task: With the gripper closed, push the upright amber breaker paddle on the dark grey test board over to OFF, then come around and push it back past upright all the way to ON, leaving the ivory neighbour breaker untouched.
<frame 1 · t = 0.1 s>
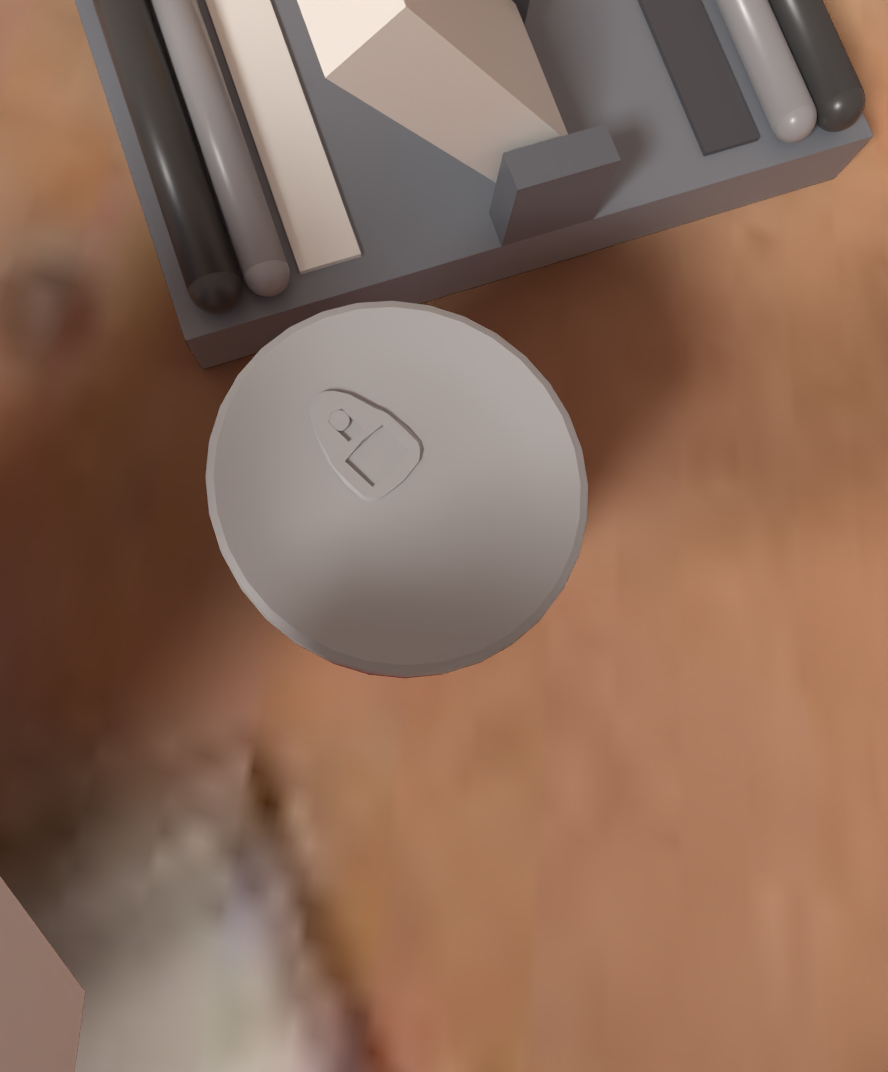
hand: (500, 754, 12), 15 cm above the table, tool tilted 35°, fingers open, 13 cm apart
canned food: (392, 555, 28), on the table
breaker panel: (448, 49, 31), on the table
neighbour breaker: (443, 41, 23), point 7 cm above the table, hinge at -38.0°
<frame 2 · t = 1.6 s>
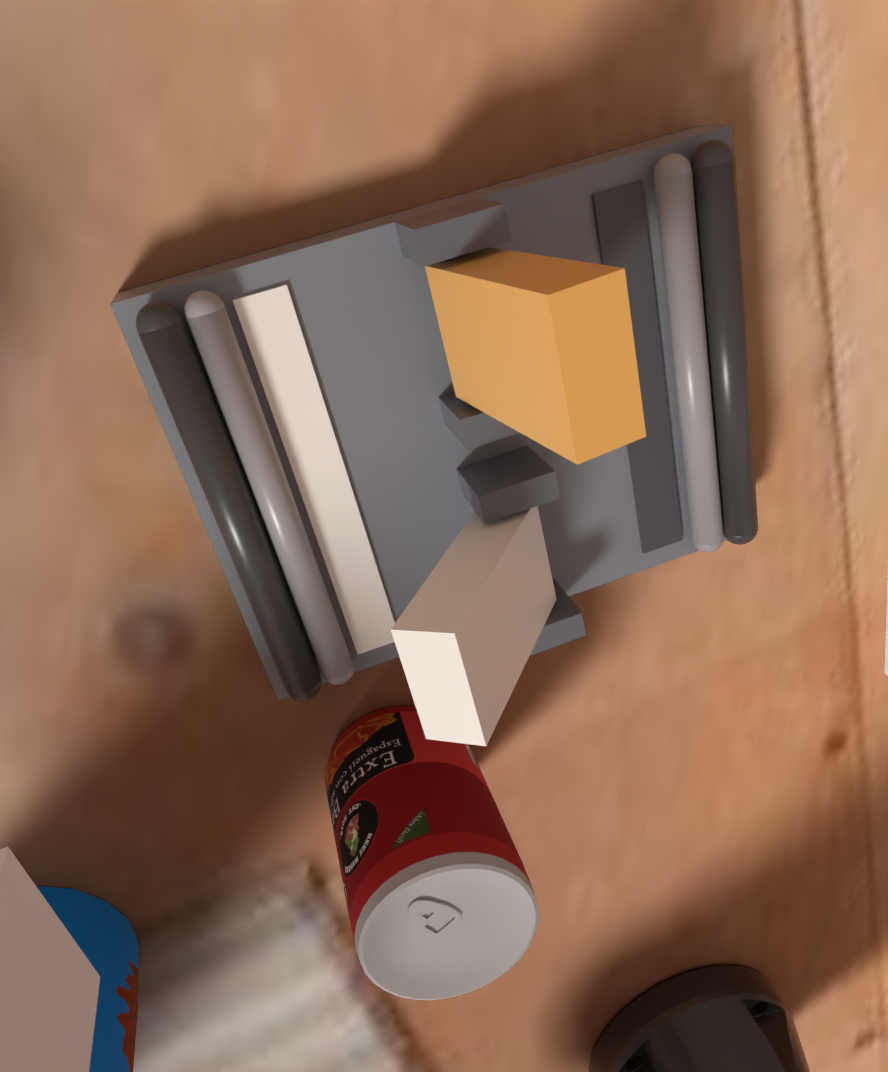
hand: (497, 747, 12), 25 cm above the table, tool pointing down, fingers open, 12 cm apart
thermos: (32, 958, 43), on the table
canned food: (396, 759, 44), on the table
tripped breaker: (520, 341, 28), point 8 cm above the table, hinge at 8.0°
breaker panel: (470, 417, 37), on the table
neighbour breaker: (487, 606, 33), point 7 cm above the table, hinge at -38.0°
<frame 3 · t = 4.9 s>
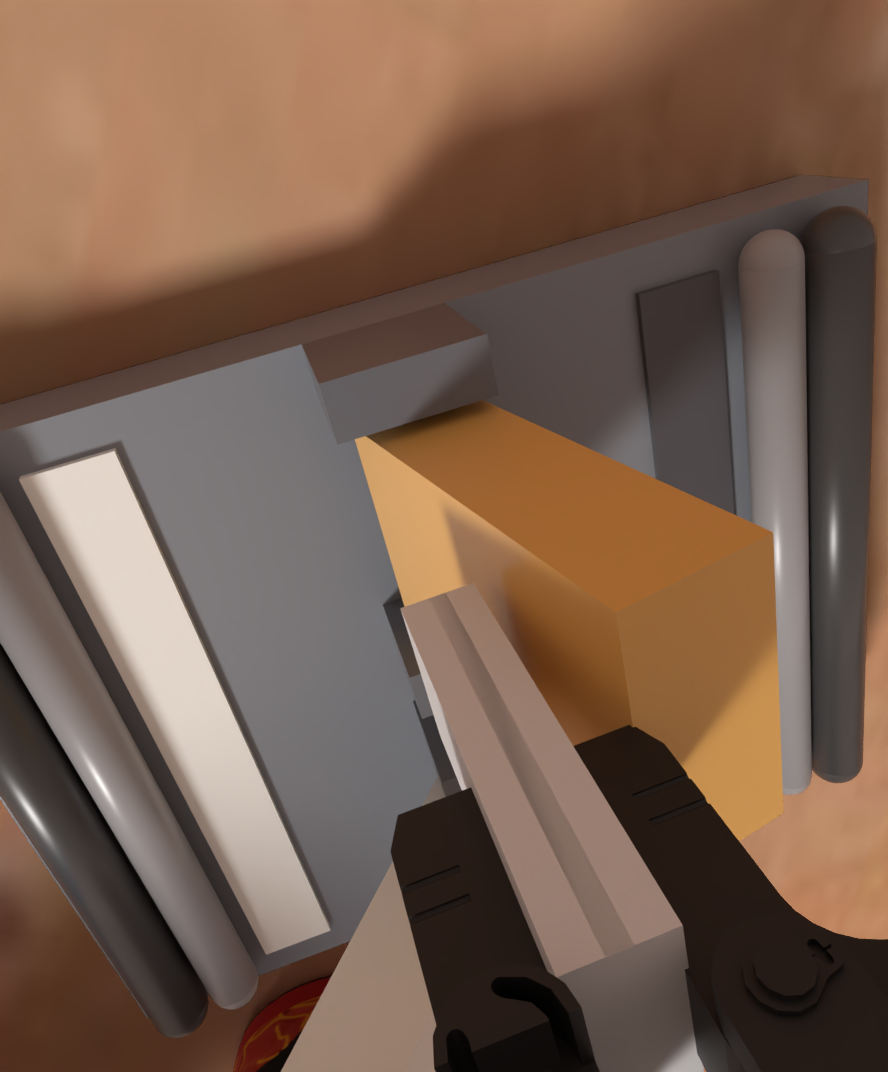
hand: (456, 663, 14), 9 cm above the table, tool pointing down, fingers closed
canned food: (337, 1033, 32), on the table
tripped breaker: (523, 581, 15), point 8 cm above the table, hinge at 11.9°, touching gripper
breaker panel: (438, 606, 24), on the table
neighbour breaker: (455, 949, 20), point 7 cm above the table, hinge at -38.0°
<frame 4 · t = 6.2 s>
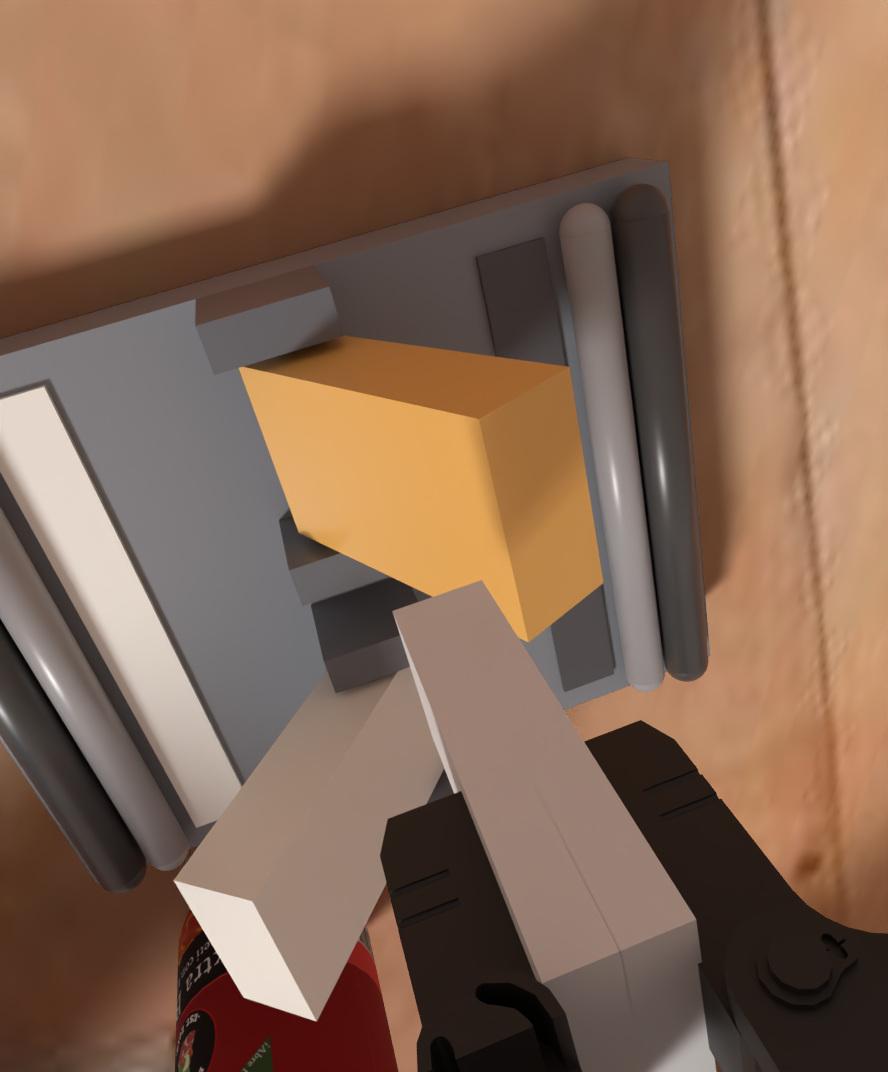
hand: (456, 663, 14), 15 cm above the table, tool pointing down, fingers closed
canned food: (272, 916, 36), on the table
tripped breaker: (396, 463, 20), point 7 cm above the table, hinge at 26.3°
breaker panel: (338, 529, 29), on the table
neighbour breaker: (339, 801, 25), point 7 cm above the table, hinge at -38.0°
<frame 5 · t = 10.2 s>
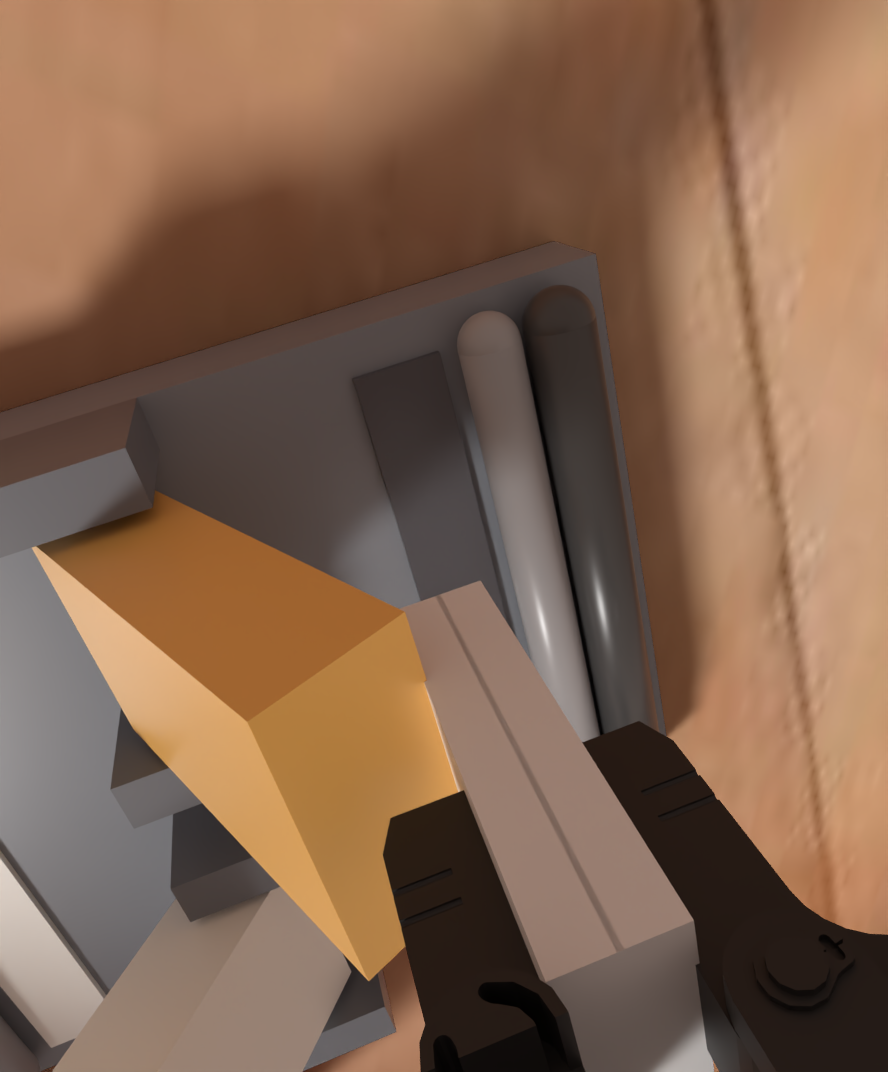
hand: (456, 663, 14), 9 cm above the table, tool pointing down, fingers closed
tripped breaker: (222, 678, 15), point 7 cm above the table, hinge at 26.1°, touching gripper
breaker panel: (217, 685, 24), on the table
neighbour breaker: (197, 1059, 19), point 7 cm above the table, hinge at -38.0°
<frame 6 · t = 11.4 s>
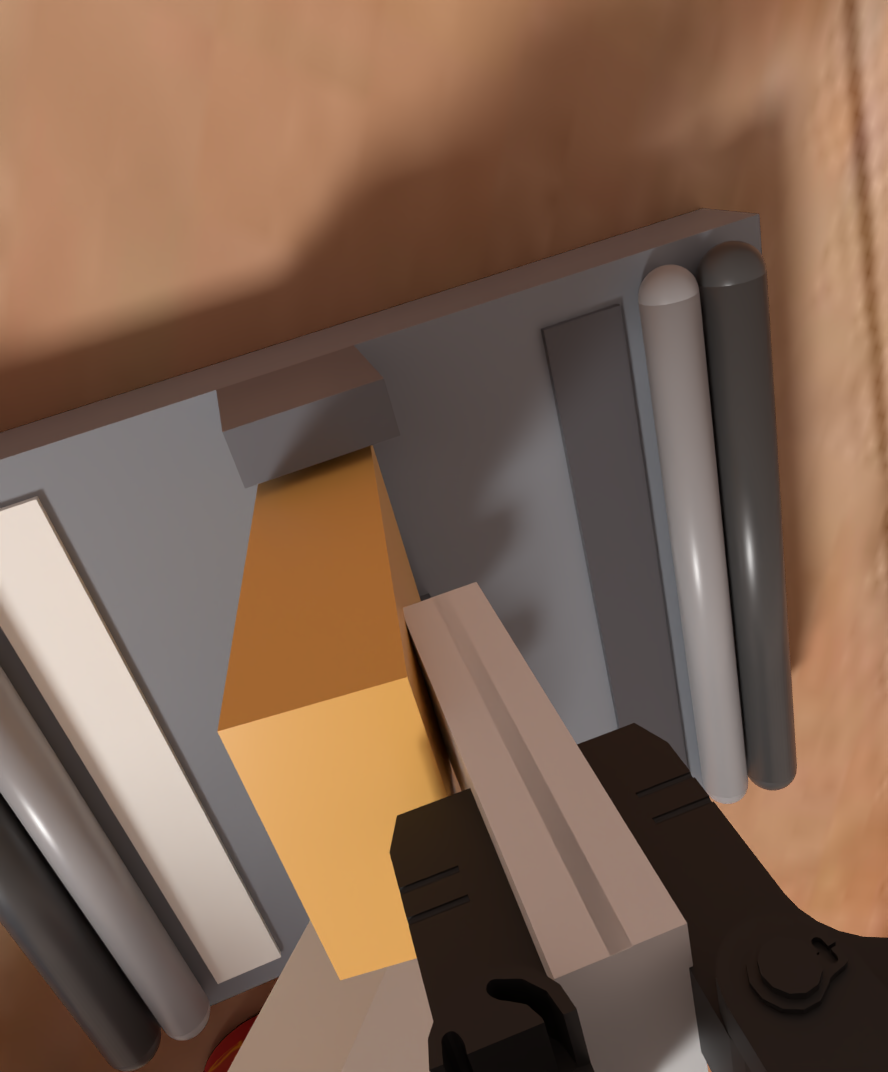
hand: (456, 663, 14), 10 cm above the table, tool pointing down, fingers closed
canned food: (301, 1059, 32), on the table
tripped breaker: (355, 642, 16), point 8 cm above the table, hinge at -8.6°, touching gripper
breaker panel: (375, 633, 25), on the table
neighbour breaker: (393, 971, 21), point 7 cm above the table, hinge at -38.0°
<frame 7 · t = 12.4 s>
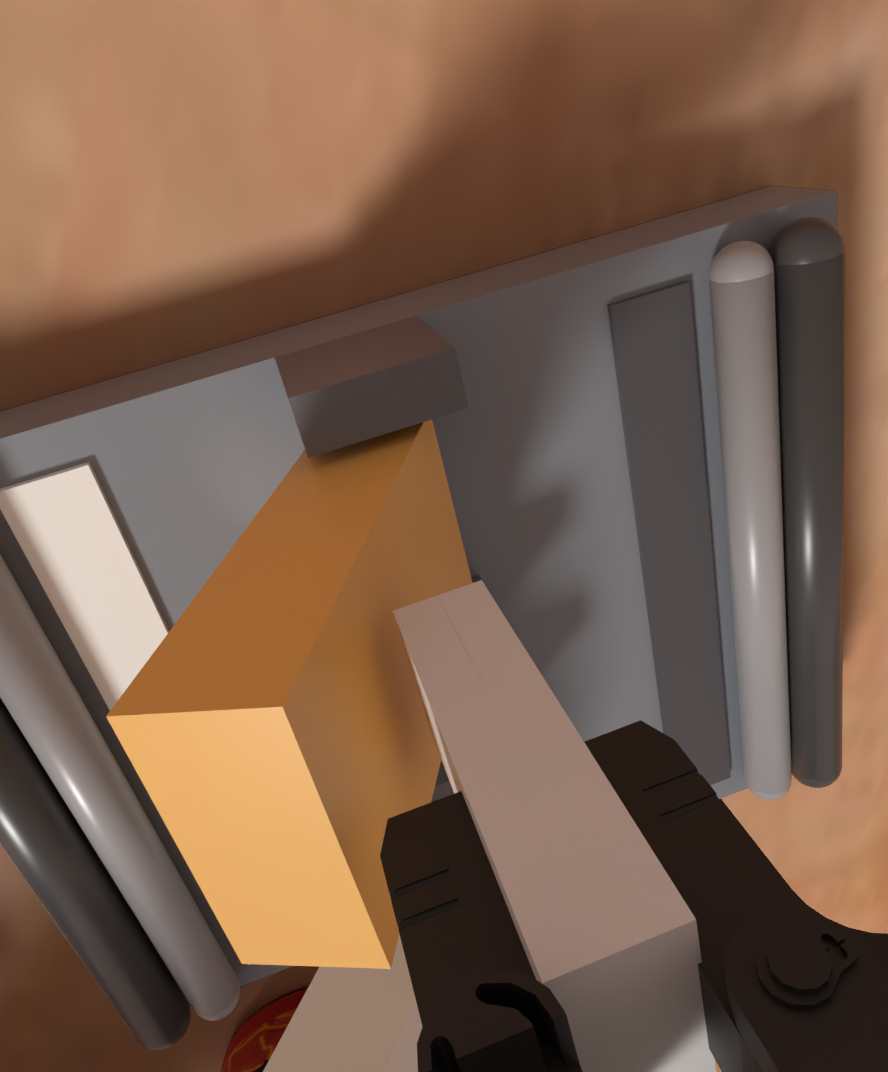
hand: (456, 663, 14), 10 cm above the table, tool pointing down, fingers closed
canned food: (323, 1043, 32), on the table
tripped breaker: (356, 630, 15), point 8 cm above the table, hinge at -25.5°
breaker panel: (418, 615, 24), on the table
neighbour breaker: (434, 959, 20), point 7 cm above the table, hinge at -38.0°
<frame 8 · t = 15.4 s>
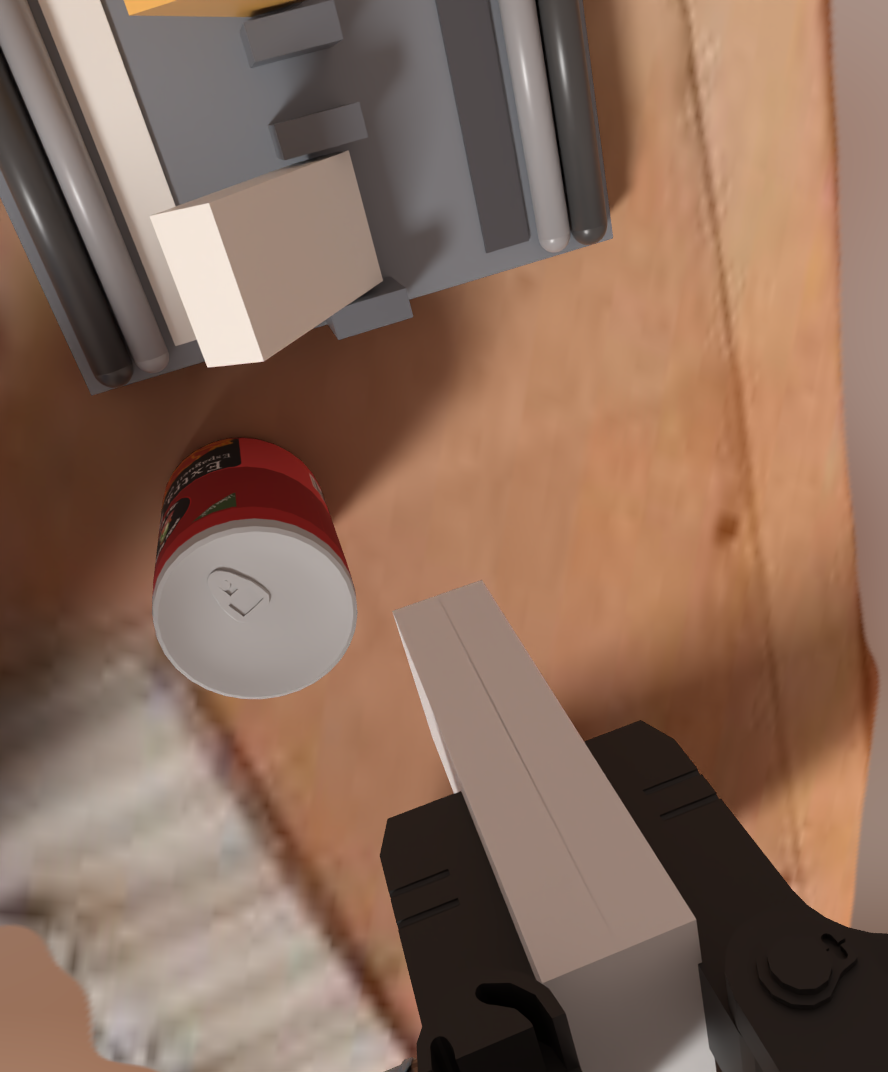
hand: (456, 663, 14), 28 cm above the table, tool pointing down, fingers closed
canned food: (245, 505, 42), on the table
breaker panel: (292, 89, 34), on the table
neighbour breaker: (287, 249, 30), point 7 cm above the table, hinge at -38.0°
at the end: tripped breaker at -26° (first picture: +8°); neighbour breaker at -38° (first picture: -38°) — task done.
